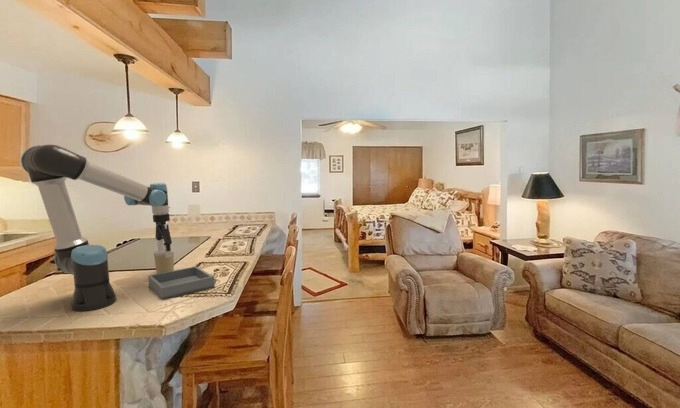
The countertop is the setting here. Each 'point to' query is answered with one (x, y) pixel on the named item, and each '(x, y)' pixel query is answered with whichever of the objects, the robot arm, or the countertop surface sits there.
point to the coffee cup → (163, 261)
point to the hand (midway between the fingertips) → (164, 254)
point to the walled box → (180, 282)
